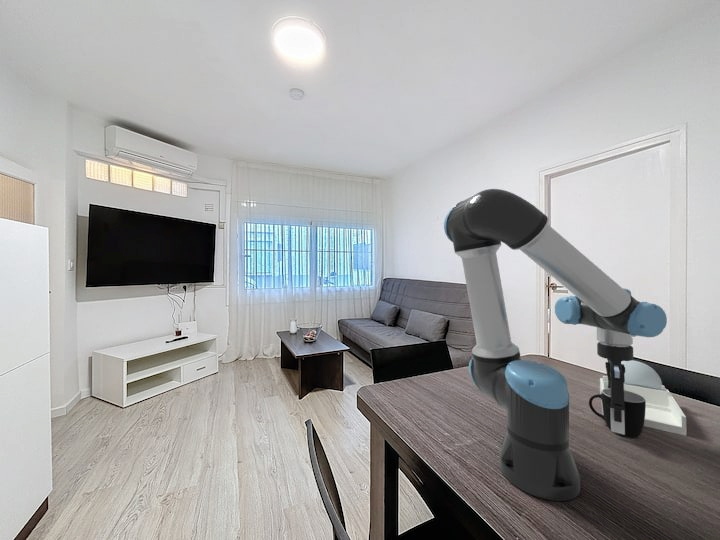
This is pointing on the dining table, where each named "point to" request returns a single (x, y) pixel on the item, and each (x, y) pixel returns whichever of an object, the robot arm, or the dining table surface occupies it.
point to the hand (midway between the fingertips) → (616, 424)
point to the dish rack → (657, 408)
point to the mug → (632, 412)
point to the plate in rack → (641, 375)
